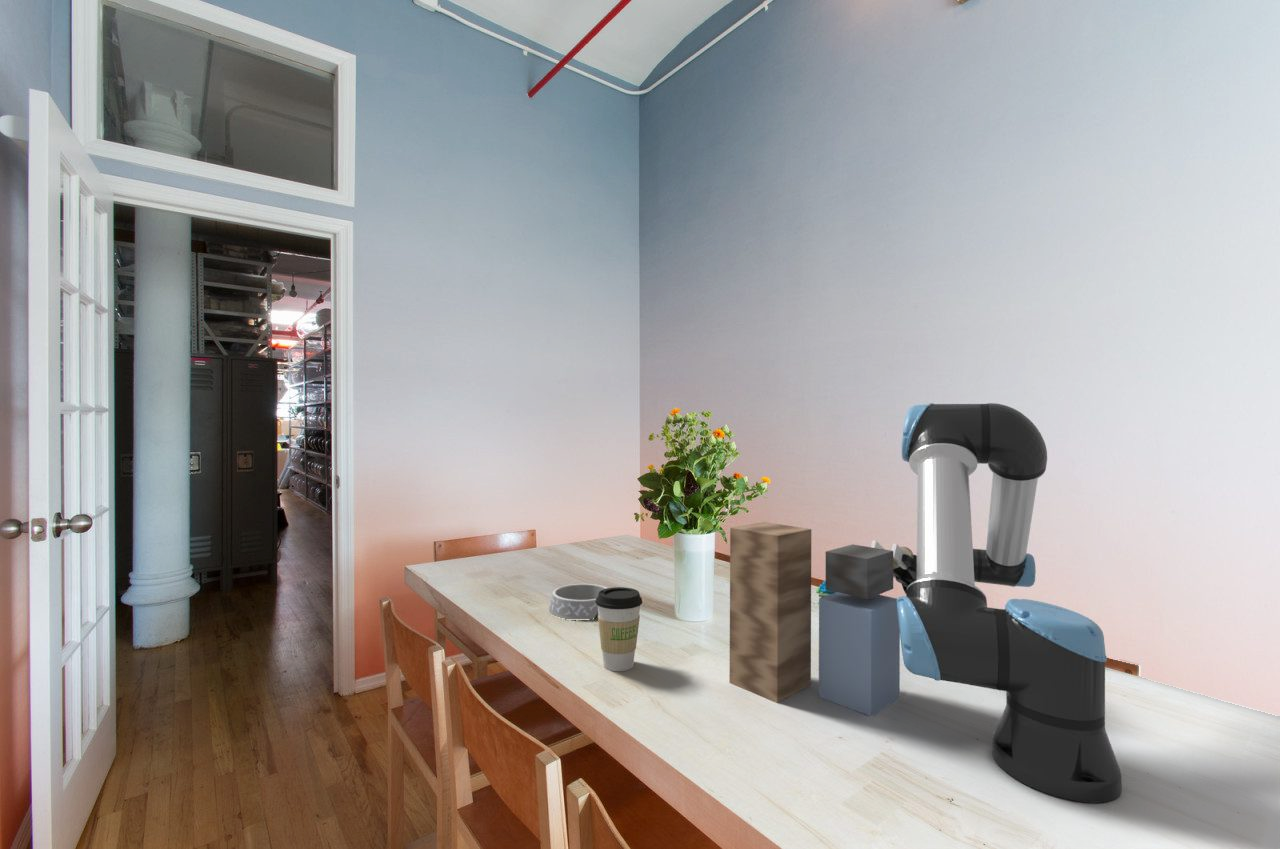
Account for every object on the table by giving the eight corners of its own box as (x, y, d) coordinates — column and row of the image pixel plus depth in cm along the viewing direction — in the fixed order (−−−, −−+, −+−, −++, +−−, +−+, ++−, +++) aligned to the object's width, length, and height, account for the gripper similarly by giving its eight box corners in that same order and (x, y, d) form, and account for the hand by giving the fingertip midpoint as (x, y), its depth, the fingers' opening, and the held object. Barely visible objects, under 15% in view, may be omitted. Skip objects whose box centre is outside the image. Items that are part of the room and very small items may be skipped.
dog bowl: (628, 609, 158) (628, 590, 158) (578, 626, 144) (578, 605, 144) (585, 597, 169) (585, 579, 169) (535, 612, 155) (535, 592, 155)
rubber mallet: (924, 576, 116) (924, 541, 116) (867, 599, 100) (867, 558, 100) (885, 568, 122) (885, 535, 122) (825, 589, 106) (825, 551, 106)
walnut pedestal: (810, 685, 111) (811, 529, 111) (777, 702, 104) (777, 535, 104) (763, 667, 119) (764, 522, 119) (729, 682, 112) (730, 527, 112)
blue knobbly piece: (862, 600, 161) (848, 579, 157) (858, 619, 158) (843, 598, 153) (825, 597, 169) (811, 577, 165) (821, 615, 165) (805, 595, 161)
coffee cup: (636, 677, 114) (637, 601, 114) (588, 672, 116) (589, 597, 116) (646, 657, 124) (646, 587, 124) (601, 654, 126) (602, 585, 126)
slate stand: (899, 697, 106) (899, 599, 106) (870, 716, 99) (871, 611, 99) (848, 679, 114) (849, 587, 114) (818, 696, 106) (819, 598, 107)
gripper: (963, 615, 119) (922, 575, 105) (885, 597, 131) (838, 559, 118) (970, 580, 121) (930, 537, 108) (892, 566, 134) (848, 525, 120)
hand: (883, 548), depth 113 cm, fingers closed on rubber mallet, 3 cm apart
